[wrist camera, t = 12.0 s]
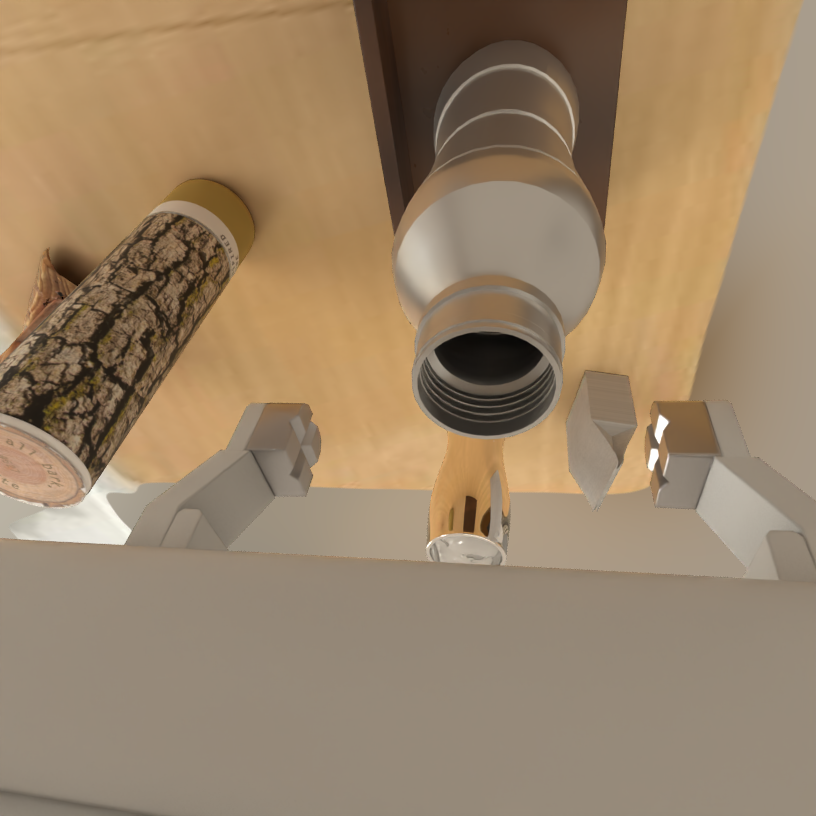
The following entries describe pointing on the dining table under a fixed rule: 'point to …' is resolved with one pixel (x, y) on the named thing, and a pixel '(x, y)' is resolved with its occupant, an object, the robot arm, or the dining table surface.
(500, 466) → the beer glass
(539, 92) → the silver metal bottle
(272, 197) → the dining table surface
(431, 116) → the bench
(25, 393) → the wooden log
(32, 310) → the bird sculpture
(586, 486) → the paper bag
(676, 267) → the dining table surface
